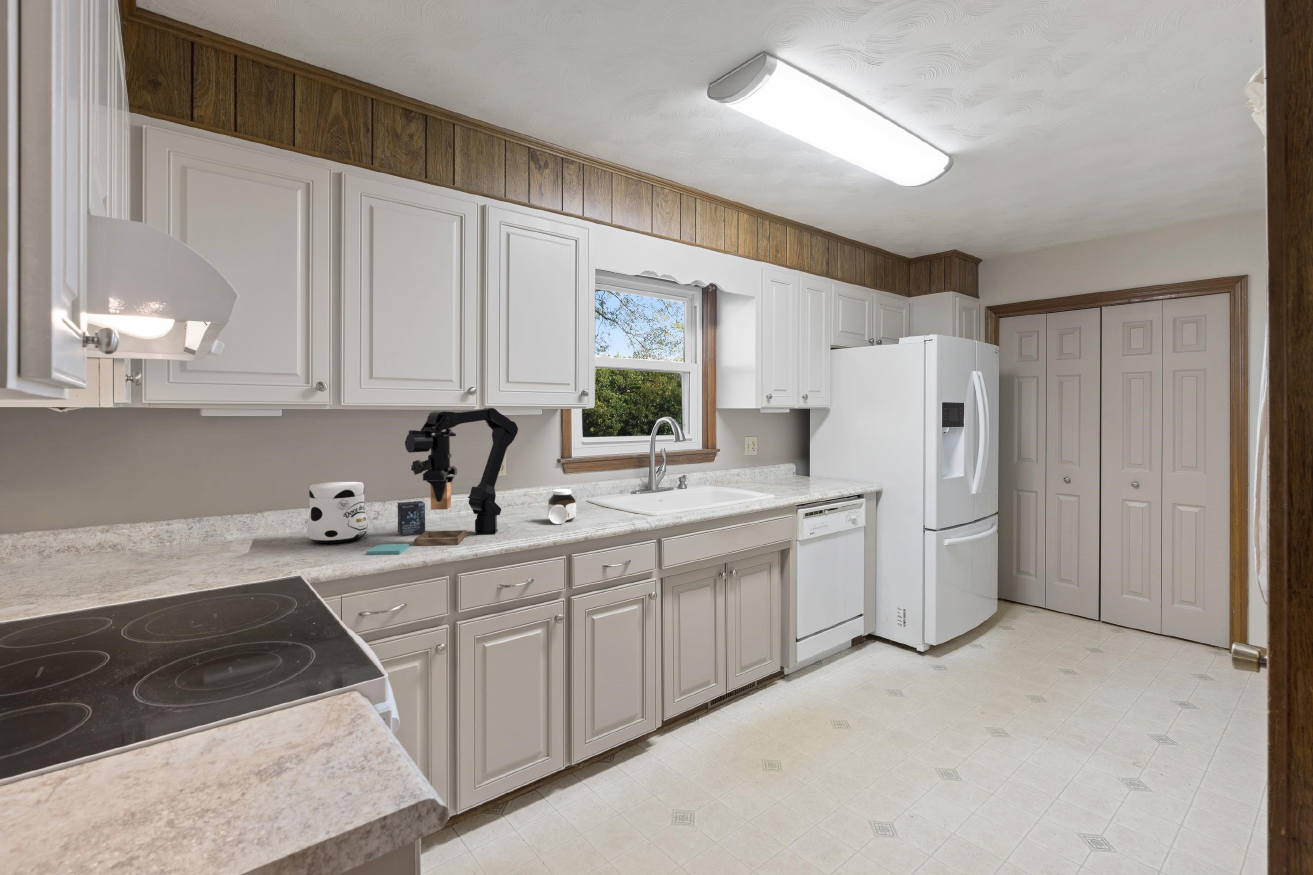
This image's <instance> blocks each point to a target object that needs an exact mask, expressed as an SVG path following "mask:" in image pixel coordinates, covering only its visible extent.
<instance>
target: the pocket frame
mask: <svg viewBox="0 0 1313 875" xmlns="http://www.w3.org/2000/svg"><path fill="white" fill-rule="evenodd" d="M466 536H467V537H468V531H467V530H466V529H463V530H461V529H459V530H425V532H424V533H423V534H419V535H418V536H417V537H415V538H414V542H413V543H414V547H418V546H419V547H420V546H423V545H426V546H458V545H460V544H461V543H462V542H463V541H464V540H465V539H466V538H467V537H466ZM431 537H432V538H431ZM433 537H437V538H433ZM465 537H466V538H465ZM464 538H465V539H464ZM463 539H464V540H463ZM423 547H424V546H423Z"/></svg>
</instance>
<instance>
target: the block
mask: <svg viewBox="0 0 1313 875" xmlns="http://www.w3.org/2000/svg"><path fill="white" fill-rule="evenodd" d="M429 484H430V483H429ZM451 493H452V483H451V482H447V485H446V487H445V490H444V493H443V496H442V499H441V501H440V502H437V500H436V496H435V493H434V490H433V487H432V485H431V484H430V510H432V511H433V510H435V511H436V510H440V511H441V510H449V509H450V508H451V507H452V494H451Z"/></svg>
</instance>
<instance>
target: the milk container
mask: <svg viewBox="0 0 1313 875" xmlns="http://www.w3.org/2000/svg"><path fill="white" fill-rule="evenodd" d="M308 491H309V492H308V496H309V500H308V502H309V503H308V504H309V515H308V519H307V522H306V532H307V537H308V538H309V540H310V541H312V542H315V543H321V544H337V543H345V542H351V541H355V540H358V539H361V538H363V537H364V536H366V534H367V533H368V528H369V521H368V520H369V519H368V517H367V514H366V510H365V485H364V483H363V482H362V481H361V482H360V481H330V482H321V483H313V484H310V486H309V490H308Z"/></svg>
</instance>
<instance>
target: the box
mask: <svg viewBox="0 0 1313 875" xmlns="http://www.w3.org/2000/svg"><path fill="white" fill-rule="evenodd" d="M425 531H426V503H425V502H424V501H422V500H417V501H416V500H415V501H404V502H397V533H398V535H399V536H400V537H403V536H411V535H412V536H413V535H421V534H423V533H424V532H425Z"/></svg>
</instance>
